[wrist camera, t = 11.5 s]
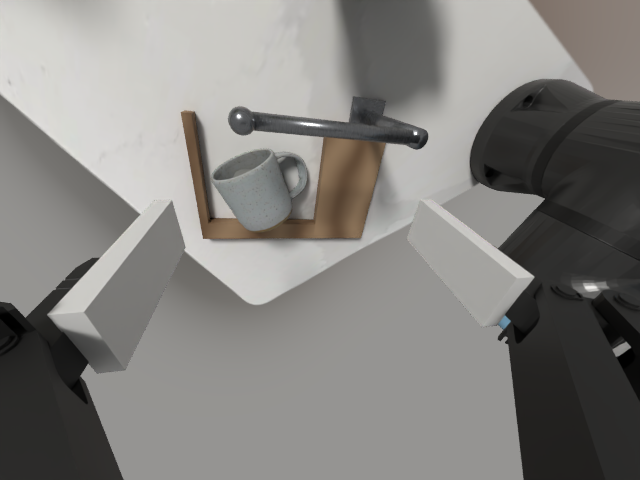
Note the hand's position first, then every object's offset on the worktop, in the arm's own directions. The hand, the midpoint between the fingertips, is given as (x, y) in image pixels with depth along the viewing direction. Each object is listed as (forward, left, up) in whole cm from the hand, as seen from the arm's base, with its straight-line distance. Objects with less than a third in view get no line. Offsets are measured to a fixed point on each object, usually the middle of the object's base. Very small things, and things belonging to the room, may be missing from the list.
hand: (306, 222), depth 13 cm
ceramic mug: (+2, +5, -21) cm, 22 cm away
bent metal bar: (-4, -4, -21) cm, 21 cm away
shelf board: (-1, +6, -21) cm, 22 cm away
